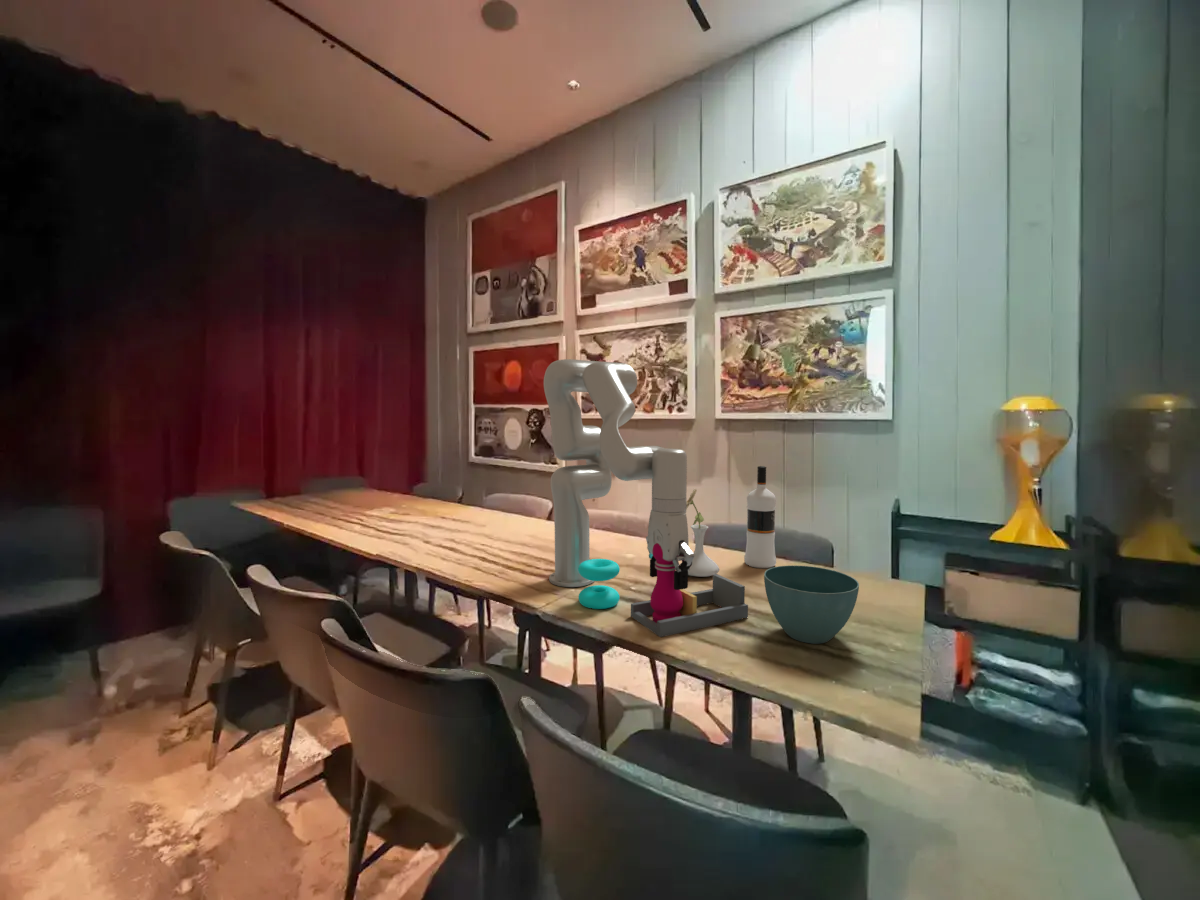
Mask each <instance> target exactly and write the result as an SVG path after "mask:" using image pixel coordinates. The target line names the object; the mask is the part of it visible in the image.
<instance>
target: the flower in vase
mask: <svg viewBox="0 0 1200 900" xmlns="http://www.w3.org/2000/svg"><path fill="white" fill-rule="evenodd" d="M696 493H697V488H693V491H692V493H690V496H689V498H688V499H687V500H686V510H688V508H689V506H691V505H693V507H694V509H695V511H696V515H695V517H694V521H693V523H692V525H690V528H691V530H692V531H693V534H694V541H695V542H694V543H695V546H694V547H695V548H694V551H693V554H694V558H693V561H692V565H691V567H690V570H689V571H688V576H690V577H699V578H701V577H703V578H705V577H707V578H708V577H710V576H711V577H713V575H714V574H718V573H719V572H720V567H719V565H718V564H717V563H716V562H715V561H714V560H713V559H712V558H710V557H709V556H708V554H706V552H705V550H704V539H705V534H706V532H707V530H708V529H709V526H708V525H706V524H701V523H703V522H704V521H705V519H704V516H703V514H702V513H701V511H700V512H699V511H698V509H697V506H696V505H695V503H694V498H695V496H696ZM697 523H698V524H697Z"/></svg>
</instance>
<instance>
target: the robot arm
mask: <svg viewBox="0 0 1200 900" xmlns="http://www.w3.org/2000/svg"><path fill="white" fill-rule="evenodd" d="M637 386H638V377H637V373H636V371H635V369H634V368H633V367H632V366H631V365H630V364H628V363H626V362H625V363H623V362H614V361H600V360H599V361H597V360H596V361H595V360H584V359H572V358H571V359H569V358H568V359H567V358H566V359H565V358H564V359H558V360H555V361H553V362H551V363H549V365H548V366H547V368H546V370H545V373H544V377H543V390H544V394H545V399H546V402H547V405H548V409H549V416H550V420H549V421H550V429H551V431H550V432H551V442H552V449H553V453H554V455H555V457H556V458H557V460H559V461H560V460H561V461H566V462H567V461H568V462H569V461H570V462H571V461H585V463H586V464H576V465H566V466H561V467H559V468H558V469H555V470H554V472H553V473H552V475H551V476H550V484H549V485H550V491H551V495H552V497H551V498H552V501H553V512H554V513H553V515H554V516H553V517H554V520H553V521H554V524H553V525H554V572H552V573H551V574H550V575H549V577H548V578H549V583H550V584H552V585H555V586H558V587H563V588H579V587H584V586H589V585H591V584H593V583H594V582H595V581H592V580H588V579H585V578H583V577H582V576H581V575H580V574H579V571H578V567H579V565H580V564H581V563H582V562H584V561H586V560H590V558H591V557H590V516H589V514H590V513H589V511H588V509H587V508H586V506H585V505H584V503H583V501H584V500H589V499H598V498H602V497H605V496H607V495H608V493H610V490H611V488H612V479H613V478H612V474H613V475H614V476H615V477H616V478H617V479H619V480H620V481H624V482H628V481H640V480H650V479H651V510H650V514H649V519H648V525H647V526H648V527H647V536H646V537H645V540H646V541H645V542H646V544H647V547H646V549H647V550H648V553H649V554H648V559H649V577H650V578H655V577H656V578H657V569H656V568H655V561H656V559H655V558H654V556H653V553H652V551H653V546H654V545H655V544H656V543H658V544H660V546H661V548H662V551H663V559H664V560H666V561H673V563H674V566H675V569H676V571H674V589H675V590H681V589H683V590H685V589H686V590H687V589H688V587H689V575H688V571H689V570H690V567H691V565H692V561H693V558H694V554H693V553H694V551H692V550H691V549H690V547H689V545H690V543H689V527H688V526H689V525H688V518H687V509H686V502H687V500H688V499H687V491H688V490H687V487H688V485H687V484H688V481H687V479H688V476H687V473H688V469H687V468H688V455H687V453H686V451H685V450H684V449H680V448H665V447H662V446H658V445H641V446H640V445H637V446H627V445H626V443H625V442H624V441H625V440H624V439H623V438H622V435H621V434H620V430H619V428H620V427H622V426H623V425H625V424H626V423H627V422H629V421H630V420H631V419H632V418H633V416H635V412H636V405H635V404H634V402H633V401H632V398H631V396H630V395H631V394H633V393H634V392H635V390H636V389H637ZM572 392H574V393H575V392H576V393H588V395H589V398H590V400H591V401H592V403H593V405H594V406H595V408H596V409H595V410H597V412H598V414H599V416H600V418H601V420H602V425H601V427H599V426H597V425H584V424H583V420H582V409H581V406H580V405H579V403H578V400H577V399H576V398H575V397H574V396H573V395H572ZM679 555H680V556H679ZM676 556H678V557H676ZM680 561H681V562H680Z"/></svg>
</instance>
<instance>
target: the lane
mask: <svg viewBox="0 0 1200 900" xmlns="http://www.w3.org/2000/svg"><path fill="white" fill-rule="evenodd" d="M745 588H746V586H745V585H743V584H741V583H739V582H736V581H734V580H732V579H729V578H727V577H724V576H723V575H720V574H718V573H717V574H714V575H712V588H709V589H706V590H705V589H704V590H700V591H693V592H690V593H691V594H693V595H695V596H697V605H700V606H703V605H702V604H705V605H708V604H707V603H710V604H713V603H715V604H716V606H717V605H719V606H721V607H722V608H721V607H719V606H718V607H719V608H715V609H711V610H704V611H699V612H697V613H694V614H689V615H684V616H679V617H674V618H669V619H664V620H659V621H657V623H655V622H654V621H653V619H651V618H649V617H648V616H653V612H654V610H653V608H652V607H651V605H650V600H651V599H650V600H644V601H643V600H642V601H638V602H637V601H636V602H632V603H630V617H631V618H632V617H633V618H632V619H634V620H635V621H636V620H637V622H638V623H639V622H640V624H641V625H642V626H644V627H645V628H646V629H648V630H650V632H651V633H653V634H655V635H656V636H658V637H659V638H661V637H667V636H671V635H676V634H680V633H685V632H690V630H691V631H695V630H700V629H704V628H708V627H713V626H717V625H722V623H723V624H726V622H728V623H731V621H732V622H735V621H734V620H737V621H739V620H738V619H741V620H743V619H742V618H746V619H748V618H749V605H748V604H747V603H745V601H746V600H745V599H746V598H745V594H746V591H745V590H746V589H745ZM712 602H713V603H712ZM715 604H714V605H715ZM747 617H748V618H747ZM699 628H700V629H699Z"/></svg>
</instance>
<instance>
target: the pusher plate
mask: <svg viewBox="0 0 1200 900" xmlns="http://www.w3.org/2000/svg"><path fill="white" fill-rule="evenodd" d="M680 592H681V594H682V597H683V607H682V609H681V610H680V611H679V612H680V613H681V616H684V615H689V614H694V613H698V612H697V608H698V606H697V596H695V595H693V594H691V593H692V592H689V591H687V590H685V589H681V590H680Z"/></svg>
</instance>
